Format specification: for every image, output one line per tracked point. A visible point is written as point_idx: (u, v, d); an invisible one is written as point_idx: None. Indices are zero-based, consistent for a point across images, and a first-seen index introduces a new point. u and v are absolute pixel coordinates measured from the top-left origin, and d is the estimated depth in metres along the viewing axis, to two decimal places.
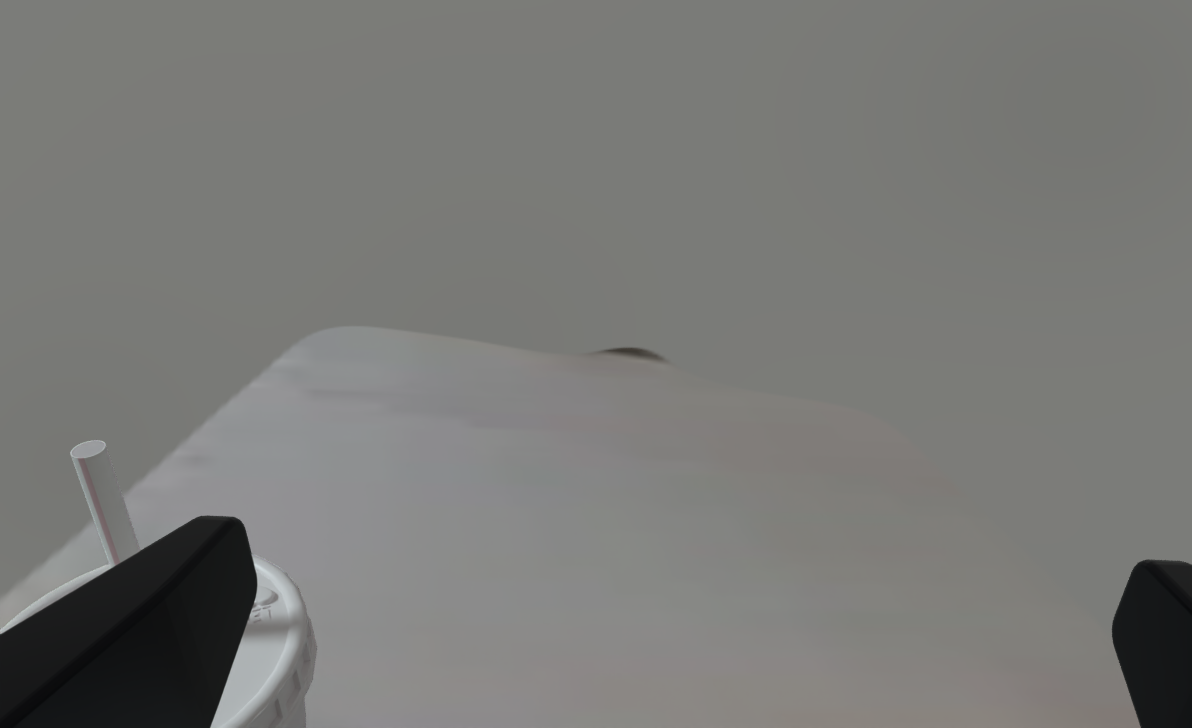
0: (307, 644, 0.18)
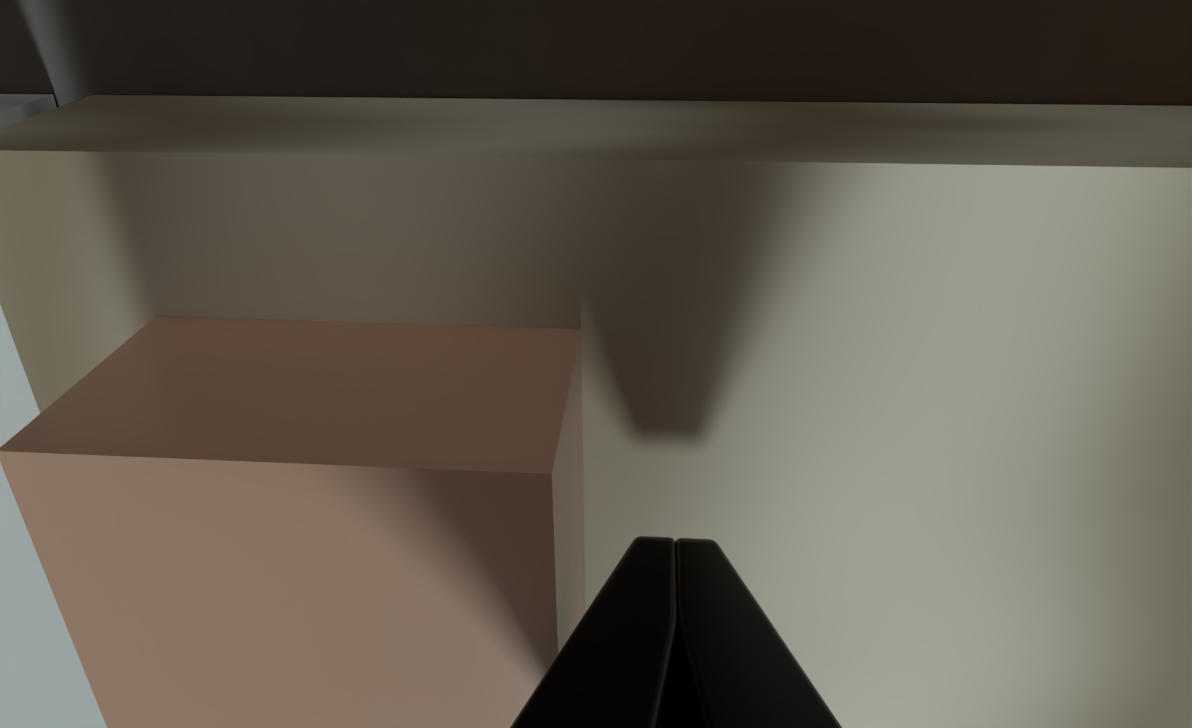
0: None
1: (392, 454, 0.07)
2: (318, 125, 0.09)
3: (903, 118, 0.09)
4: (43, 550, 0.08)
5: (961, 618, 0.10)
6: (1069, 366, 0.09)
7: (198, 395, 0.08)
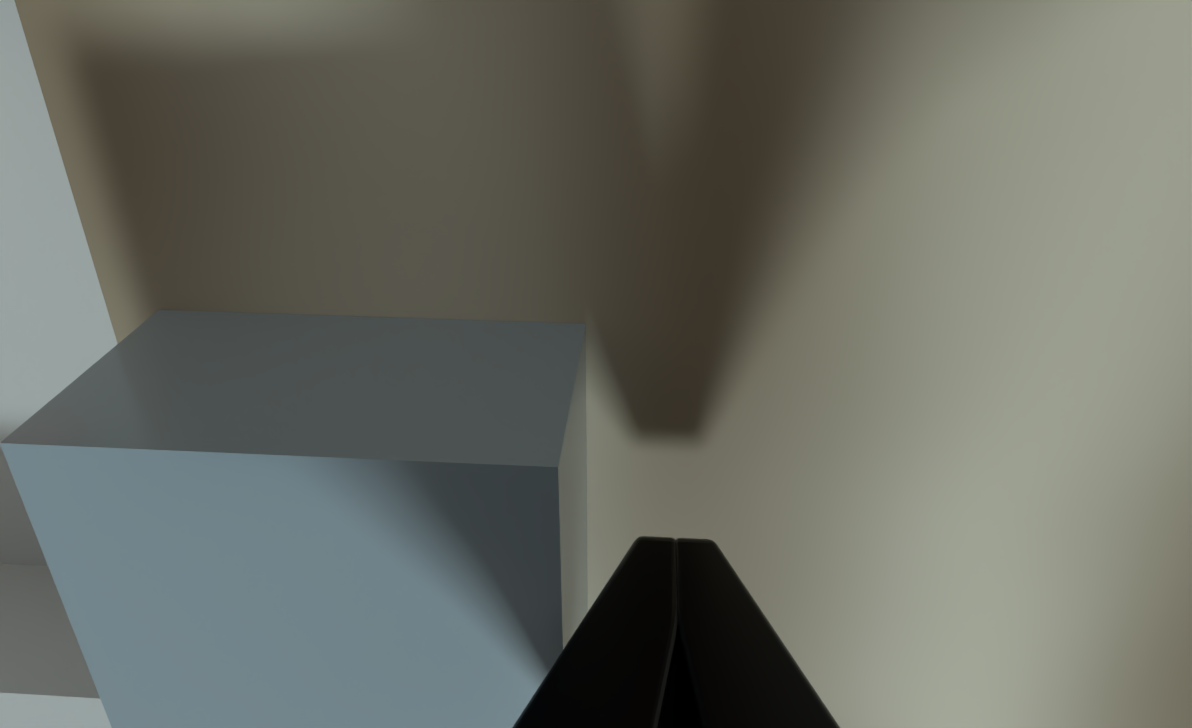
0: None
1: None
2: None
3: None
4: None
5: None
6: None
7: None
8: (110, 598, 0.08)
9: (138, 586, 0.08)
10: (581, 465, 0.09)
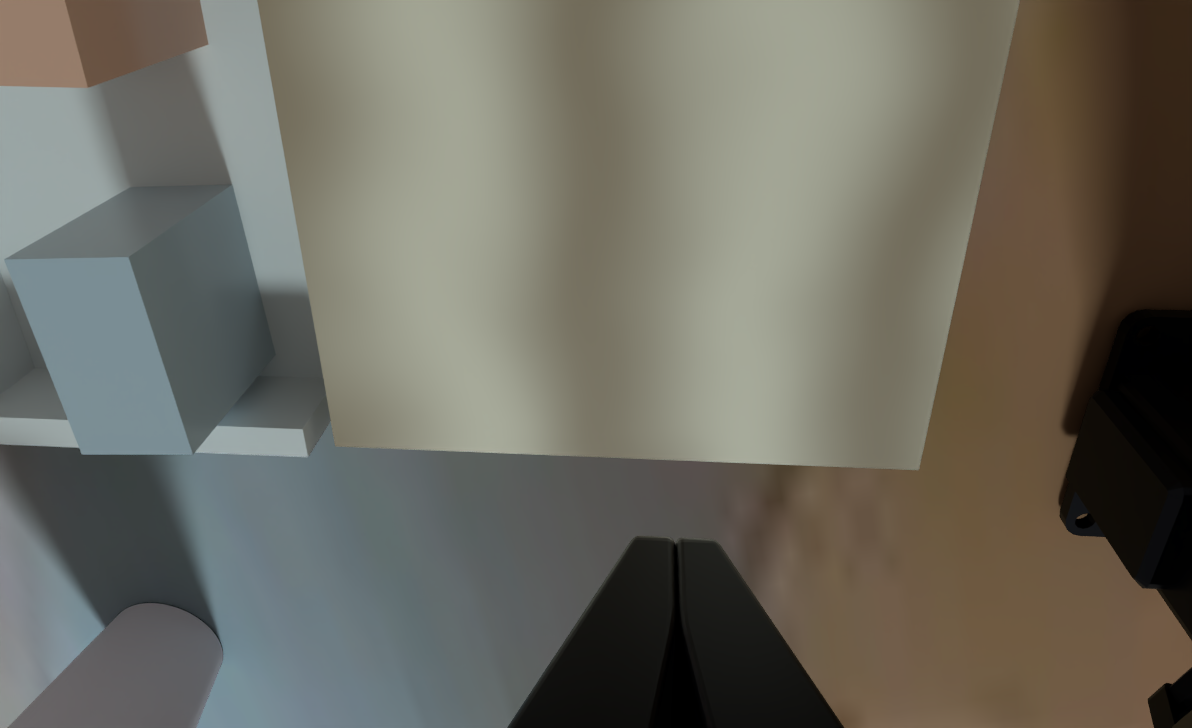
0: None
1: None
2: None
3: None
4: None
5: (825, 39, 0.16)
6: None
7: None
8: None
9: None
10: (117, 319, 0.17)
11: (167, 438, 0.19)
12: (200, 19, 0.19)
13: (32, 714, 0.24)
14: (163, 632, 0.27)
